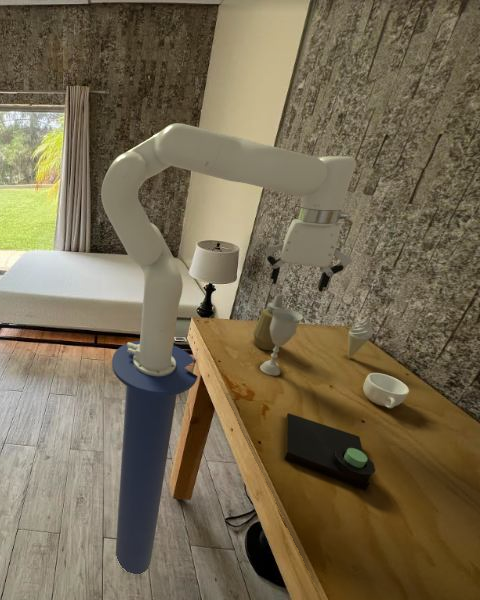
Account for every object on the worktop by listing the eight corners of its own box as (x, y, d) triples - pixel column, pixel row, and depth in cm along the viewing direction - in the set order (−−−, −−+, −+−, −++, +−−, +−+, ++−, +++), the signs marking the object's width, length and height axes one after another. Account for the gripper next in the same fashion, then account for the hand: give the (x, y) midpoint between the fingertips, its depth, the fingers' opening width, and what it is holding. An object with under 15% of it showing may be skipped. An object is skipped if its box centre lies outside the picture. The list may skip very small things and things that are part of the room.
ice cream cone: (361, 365, 91) (382, 320, 85) (340, 360, 94) (358, 315, 87) (358, 356, 95) (377, 312, 89) (337, 351, 98) (355, 308, 91)
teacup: (355, 385, 84) (363, 369, 81) (393, 395, 80) (402, 378, 78) (365, 411, 76) (374, 393, 73) (408, 422, 72) (418, 404, 70)
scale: (284, 460, 64) (289, 447, 62) (285, 419, 74) (289, 406, 72) (369, 494, 58) (378, 479, 56) (358, 444, 67) (365, 431, 66)
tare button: (344, 463, 59) (348, 457, 59) (342, 451, 62) (346, 445, 61) (365, 471, 58) (369, 464, 57) (362, 458, 60) (366, 452, 59)
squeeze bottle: (279, 355, 96) (296, 302, 88) (249, 348, 100) (263, 296, 92) (279, 342, 102) (295, 292, 94) (251, 336, 106) (264, 287, 98)
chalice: (264, 359, 95) (280, 305, 87) (288, 370, 90) (307, 315, 82) (251, 368, 91) (266, 313, 83) (276, 381, 86) (295, 323, 78)
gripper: (363, 216, 70) (337, 287, 78) (274, 210, 78) (258, 275, 86) (370, 223, 64) (341, 298, 72) (273, 215, 73) (256, 284, 80)
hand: (296, 285), depth 79 cm, fingers open, 9 cm apart
